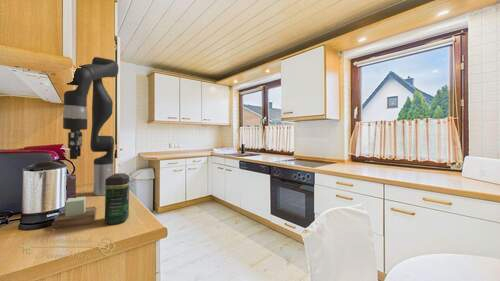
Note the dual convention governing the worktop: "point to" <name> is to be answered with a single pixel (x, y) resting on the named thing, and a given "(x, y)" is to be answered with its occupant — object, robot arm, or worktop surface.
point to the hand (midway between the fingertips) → (75, 157)
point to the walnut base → (75, 219)
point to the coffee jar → (116, 198)
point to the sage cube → (75, 206)
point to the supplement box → (71, 186)
